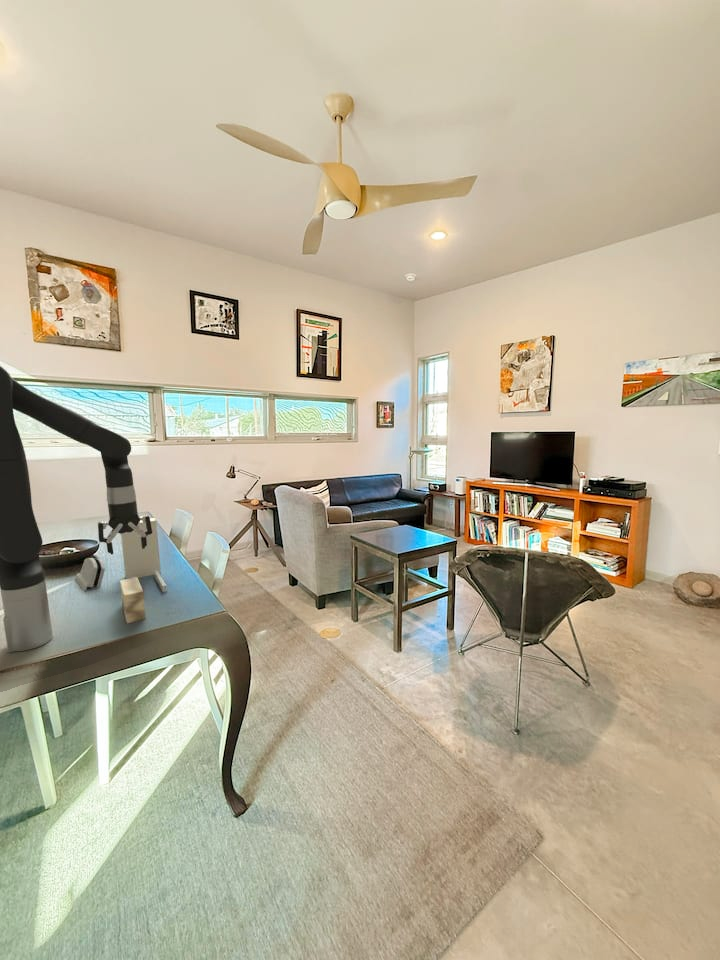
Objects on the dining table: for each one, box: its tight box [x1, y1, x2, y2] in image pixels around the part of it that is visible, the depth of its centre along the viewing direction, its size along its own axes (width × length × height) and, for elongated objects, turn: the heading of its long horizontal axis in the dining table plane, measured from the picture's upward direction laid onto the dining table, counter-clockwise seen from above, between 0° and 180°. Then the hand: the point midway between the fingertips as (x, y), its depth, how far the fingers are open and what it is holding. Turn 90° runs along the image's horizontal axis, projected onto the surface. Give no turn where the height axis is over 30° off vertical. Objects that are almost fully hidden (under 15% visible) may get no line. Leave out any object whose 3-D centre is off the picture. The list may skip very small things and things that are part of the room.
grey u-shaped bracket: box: [120, 517, 168, 594], centre depth 145 cm, size 12×26×22 cm, turn 36°
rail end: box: [119, 577, 147, 624], centre depth 124 cm, size 5×15×9 cm, turn 36°
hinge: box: [74, 557, 106, 592], centre depth 148 cm, size 17×5×10 cm, turn 46°
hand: (128, 550), depth 121 cm, fingers open, 8 cm apart
